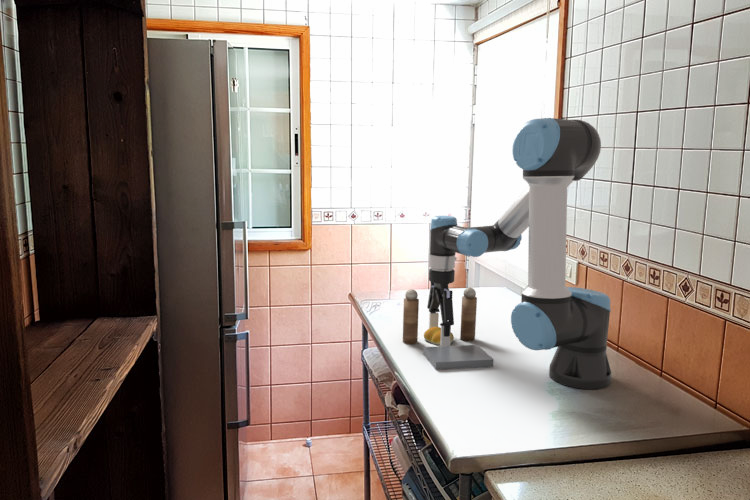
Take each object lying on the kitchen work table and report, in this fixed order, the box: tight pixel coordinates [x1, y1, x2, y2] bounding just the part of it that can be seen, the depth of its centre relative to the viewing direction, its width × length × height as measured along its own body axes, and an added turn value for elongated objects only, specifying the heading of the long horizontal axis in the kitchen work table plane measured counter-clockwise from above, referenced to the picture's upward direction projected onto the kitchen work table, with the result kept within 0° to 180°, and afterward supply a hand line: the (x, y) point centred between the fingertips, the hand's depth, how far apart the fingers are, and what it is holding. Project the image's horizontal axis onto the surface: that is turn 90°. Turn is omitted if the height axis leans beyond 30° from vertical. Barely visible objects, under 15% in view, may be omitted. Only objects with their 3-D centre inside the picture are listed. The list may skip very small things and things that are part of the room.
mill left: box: [402, 288, 420, 345], centre depth 183 cm, size 4×4×16 cm
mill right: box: [459, 287, 478, 342], centre depth 186 cm, size 4×4×16 cm
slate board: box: [422, 344, 494, 371], centre depth 170 cm, size 12×16×2 cm
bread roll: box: [423, 326, 455, 346], centre depth 186 cm, size 8×9×4 cm
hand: (439, 339), depth 186 cm, fingers open, 11 cm apart
